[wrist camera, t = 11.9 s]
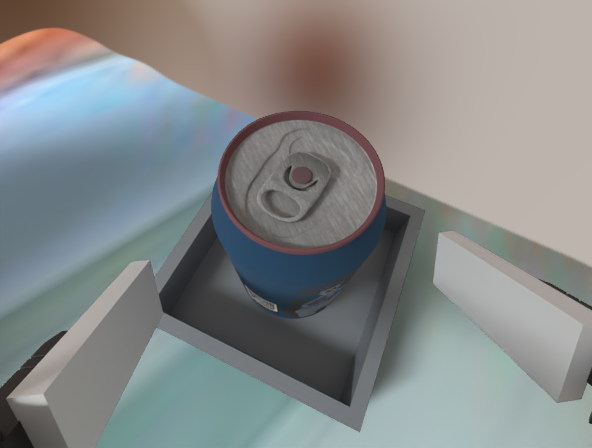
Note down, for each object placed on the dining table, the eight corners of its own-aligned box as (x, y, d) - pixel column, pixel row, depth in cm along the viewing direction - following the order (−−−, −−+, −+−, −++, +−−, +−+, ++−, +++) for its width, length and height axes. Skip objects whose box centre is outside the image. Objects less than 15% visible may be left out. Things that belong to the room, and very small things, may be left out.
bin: (156, 321, 20) (130, 313, 16) (251, 170, 25) (246, 140, 22) (345, 418, 18) (359, 432, 14) (404, 232, 23) (425, 210, 20)
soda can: (279, 210, 23) (274, 73, 12) (358, 256, 22) (433, 150, 11) (222, 284, 20) (153, 197, 9) (308, 342, 19) (342, 318, 8)
